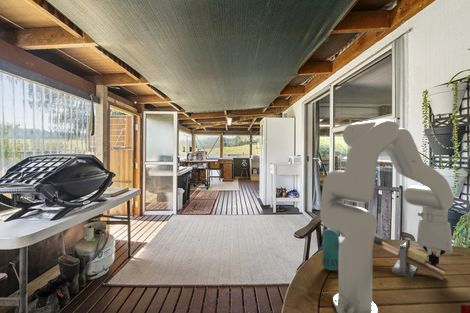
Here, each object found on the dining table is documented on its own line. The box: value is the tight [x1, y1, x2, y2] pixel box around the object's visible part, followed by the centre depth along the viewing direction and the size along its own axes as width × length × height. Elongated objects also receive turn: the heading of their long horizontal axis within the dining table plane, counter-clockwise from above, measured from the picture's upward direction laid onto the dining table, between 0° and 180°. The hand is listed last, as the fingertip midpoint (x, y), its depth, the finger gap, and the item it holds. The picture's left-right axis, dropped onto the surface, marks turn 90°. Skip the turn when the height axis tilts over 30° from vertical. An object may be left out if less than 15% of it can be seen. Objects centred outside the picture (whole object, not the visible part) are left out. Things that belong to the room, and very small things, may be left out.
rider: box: [406, 246, 429, 265], centre depth 98 cm, size 5×6×4 cm
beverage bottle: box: [321, 225, 340, 271], centre depth 100 cm, size 6×7×20 cm
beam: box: [373, 232, 446, 281], centre depth 101 cm, size 7×28×5 cm, turn 46°
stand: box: [391, 237, 418, 279], centre depth 100 cm, size 13×7×11 cm, turn 136°
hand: (433, 264), depth 94 cm, fingers closed
